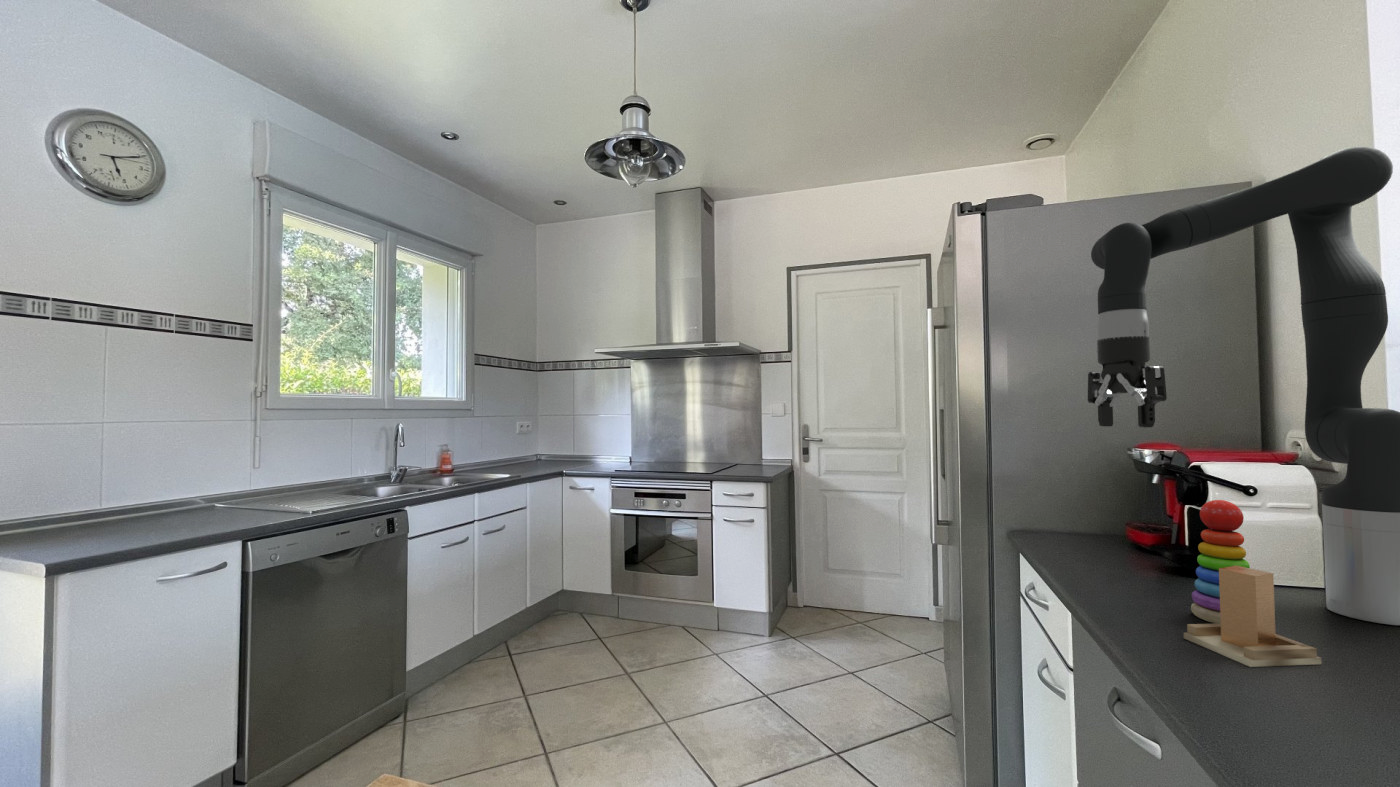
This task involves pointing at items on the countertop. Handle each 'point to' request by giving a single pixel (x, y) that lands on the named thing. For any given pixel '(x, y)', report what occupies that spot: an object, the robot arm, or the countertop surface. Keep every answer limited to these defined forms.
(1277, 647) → the wooden tray
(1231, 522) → the stacking toy
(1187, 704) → the countertop surface
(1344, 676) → the countertop surface
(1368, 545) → the robot arm
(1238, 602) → the brown rectangular block
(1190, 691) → the countertop surface
